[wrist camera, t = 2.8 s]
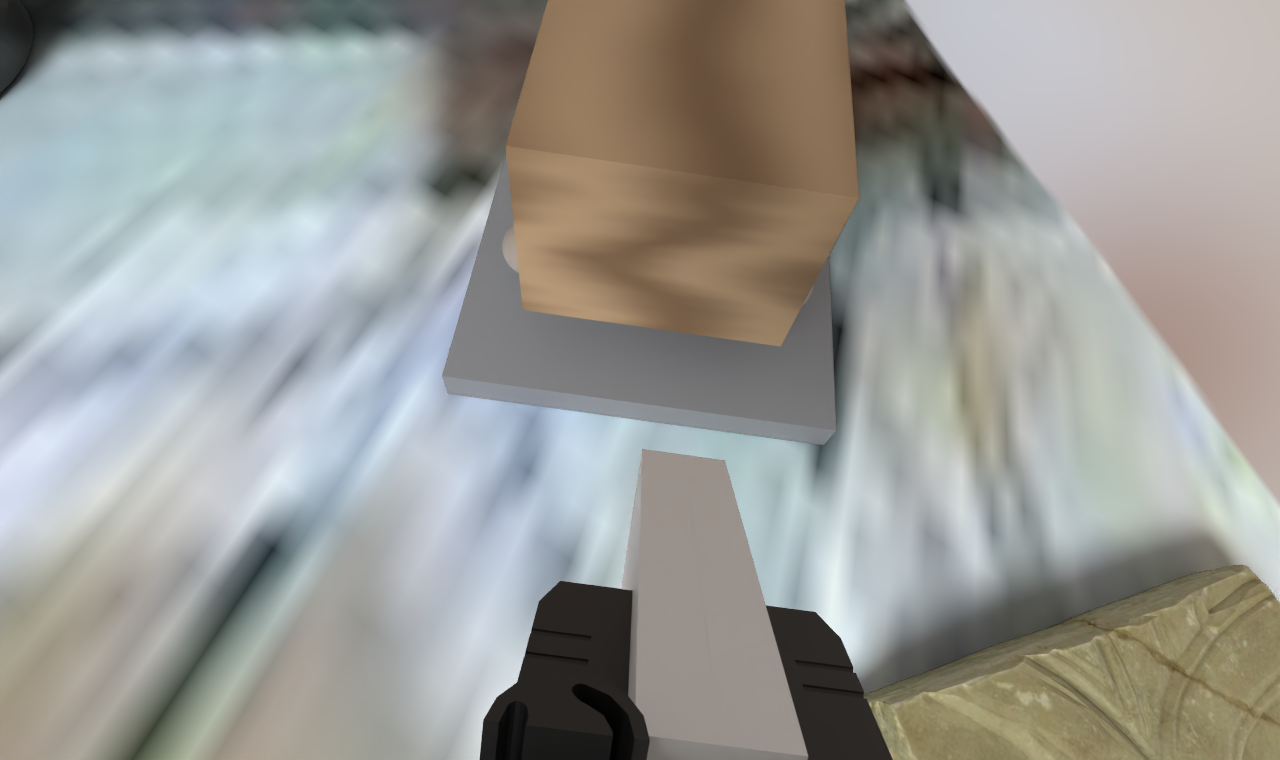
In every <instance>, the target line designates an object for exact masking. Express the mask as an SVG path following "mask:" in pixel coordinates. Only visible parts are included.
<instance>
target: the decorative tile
mask: <svg viewBox="0 0 1280 760" xmlns="http://www.w3.org/2000/svg"><path fill="white" fill-rule="evenodd" d="M864 698H866V699H867V701H868V703H869V705H870V708H871V710H872V712H873V715H874V717H875V719H876V722H877V724H878V726H879V728H880V731H881V733H882V735H883V738H884V740H885V742H886V745H887V747H888V749H889V752H890V754H891V756H892V759H893V760H1280V603H1279V601H1278V600H1277V599H1276V598H1275V596H1274V595H1273V593H1272V592H1271V590H1270V589H1269V588H1268V586H1267V585H1266V584H1264V583H1263V582H1261V580H1260V579H1259V578H1258V577H1257V576H1256V574H1255V573H1253V572H1252V571H1251V570H1250V569H1249V568H1248V567H1247V566H1244V565H1234V566H1229V567H1225V568H1220V569H1215V570H1209V571H1204V572H1199V573H1194V574H1191V575H1188V576H1185V577H1181V578H1178V579H1176V580H1173V581H1171V582H1168V583H1165V584H1162V585H1159V586H1156V587H1154V588H1151V589H1149V590H1147V591H1145V592H1143V593H1140V594H1137V595H1134V596H1131V597H1128V598H1125V599H1122V600H1119V601H1115V602H1112V603H1110V604H1107V605H1104V606H1102V607H1099V608H1096V609H1093V610H1091V611H1088V612H1086V613H1083V614H1081V615H1078V616H1076V617H1073V618H1071V619H1068V620H1066V621H1063V622H1062V623H1061V624H1057V625H1054V626H1052V627H1049V628H1046V629H1044V630H1041V631H1038V632H1035V633H1032V634H1029V635H1026V636H1023V637H1020V638H1017V639H1013V640H1010V641H1007V642H1003V643H1000V644H998V645H995V646H992V647H989V648H986V649H983V650H981V651H978V652H976V653H973V654H971V655H969V656H966V657H964V658H962V659H959V660H956V661H954V662H951V663H948V664H946V665H943V666H941V667H939V668H936V669H933V670H931V671H928V672H926V673H923V674H920V675H916V676H912V677H910V678H907V679H905V680H903V681H900V682H897V683H895V684H892V685H889V686H887V687H884V688H881V689H878V690H876V691H874V692H871V693H869V694H866V695H864Z"/></svg>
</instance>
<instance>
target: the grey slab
mask: <svg viewBox="0 0 1280 760" xmlns="http://www.w3.org/2000/svg"><path fill="white" fill-rule="evenodd" d="M513 224H514V221H513V212H512V202H511V193H510V184H509V174H508V165H507V155H506V157H505V160H504V164H503V167H502V171H501V174H500V177H499V181H498V184H497V188H496V191H495V195H494V198H493V202H492V205H491V209H490V212H489V216H488V219H487V222H486V226H485V229H484V233H483V236H482V240H481V243H480V247H479V250H478V254H477V257H476V261H475V264H474V267H473V271H472V274H471V278H470V281H469V285H468V288H467V292H466V295H465V299H464V302H463V306H462V309H461V313H460V316H459V319H458V323H457V326H456V330H455V333H454V337H453V340H452V344H451V347H450V351H449V354H448V358H447V361H446V364H445V368H444V371H443V375H442V377H443V380H444V383H445V386H446V389H447V392H448V394H455V395H462V396H470V397H477V398H484V399H491V400H499V401H506V402H513V403H521V404H528V405H535V406H542V407H550V408H557V409H564V410H572V411H579V412H586V413H594V414H601V415H608V416H615V417H623V418H630V419H637V420H645V421H652V422H659V423H666V424H674V425H681V426H688V427H696V428H703V429H710V430H718V431H725V432H732V433H739V434H747V435H754V436H761V437H769V438H776V439H783V440H790V441H798V442H805V443H812V444H820V445H824V444H825V443H826V442H827V441H828V440H829V438H830V437H831V436H832V435H833V434H834V433H835V431H836V414H835V389H834V365H833V340H832V316H831V291H830V267H829V256H828V258H827V260H826V262H825V264H824V266H823V268H822V269H821V271H820V273H819V275H818V277H817V279H816V281H815V283H814V285H813V290H812V293H811V296H810V298H809V299H808V301H807V302H806V303H805V304H804V305H803V306H802V307H801V309H800V311H799V313H798V315H797V317H796V318H795V320H794V322H793V324H792V326H791V328H790V330H789V332H788V334H787V335H786V337H785V339H784V341H783V343H782V345H781V346H773V345H766V344H759V343H752V342H745V341H738V340H731V339H724V338H717V337H710V336H703V335H696V334H689V333H681V332H674V331H667V330H660V329H653V328H646V327H639V326H632V325H625V324H618V323H611V322H604V321H597V320H590V319H582V318H575V317H568V316H561V315H554V314H547V313H540V312H533V311H526V310H523V307H522V297H521V288H520V278H519V273H517V272H516V271H514V270H513V269H512V268H511V267H510V266H509V265H508V264H507V262H506V260H505V258H504V255H503V251H502V242H503V238H504V235H505V233H506V232H507V230H508V229H509V228H510V227H511V226H512V225H513Z"/></svg>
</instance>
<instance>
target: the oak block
mask: <svg viewBox="0 0 1280 760" xmlns="http://www.w3.org/2000/svg"><path fill="white" fill-rule="evenodd" d="M506 155H507V165H508V174H509V184H510V193H511V202H512V212H513V221H514V224H513V225H512V226H511V227H510V228H509V229H508V230H507V232H506V233H505V235H504V238H503V242H502V251H503V255H504V258H505V260H506V262H507V264H508V265H509V266H510V267H511V268H512V269H513V270H514V271H516V272H517V273H519V278H520V288H521V297H522V307H523V310H526V311H533V312H540V313H547V314H554V315H561V316H568V317H575V318H582V319H590V320H597V321H604V322H611V323H618V324H625V325H632V326H639V327H646V328H653V329H660V330H667V331H674V332H681V333H689V334H696V335H703V336H710V337H717V338H724V339H731V340H738V341H745V342H752V343H759V344H766V345H773V346H781V345H782V343H783V341H784V339H785V337H786V335H787V334H788V332H789V330H790V328H791V326H792V324H793V322H794V320H795V318H796V317H797V315H798V313H799V311H800V309H801V307H802V306H803V305H804V304H805V303H806V302H807V301H808V299H809V298H810V296H811V293H812V290H813V285H814V283H815V281H816V279H817V277H818V275H819V273H820V271H821V269H822V268H823V266H824V264H825V262H826V260H827V258H828V256H829V254H830V252H831V251H832V249H833V247H834V245H835V243H836V241H837V239H838V237H839V235H840V234H841V232H842V230H843V228H844V226H845V224H846V222H847V220H848V218H849V217H850V215H851V213H852V211H853V209H854V207H855V205H856V203H857V202H858V200H859V188H858V175H857V161H856V147H855V133H854V120H853V106H852V92H851V79H850V65H849V51H848V37H847V24H846V10H845V0H548V2H547V5H546V9H545V12H544V16H543V19H542V22H541V26H540V29H539V33H538V36H537V40H536V43H535V46H534V50H533V53H532V57H531V60H530V64H529V67H528V70H527V74H526V77H525V81H524V84H523V87H522V91H521V94H520V98H519V101H518V105H517V108H516V111H515V115H514V118H513V122H512V125H511V129H510V132H509V135H508V139H507V142H506Z"/></svg>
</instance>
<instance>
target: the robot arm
mask: <svg viewBox="0 0 1280 760" xmlns="http://www.w3.org/2000/svg"><path fill="white" fill-rule="evenodd" d="M32 42H33V25H32V21H31V18H30V16H29V14H28V12H27V10H26V9H25V7H24V6H23V4H22V3H21V2H20V0H0V92H1V91H3V90H4V89H5V88H6V87H7V86H8V85H9V84H10V82H11V81H12V80H13V79H14V78H15V77H16V75H17V74H18V73H19V71H20V70H21V68H22V67H23V65H24V64H25V62H26V60H27V58H28V55H29V53H30V50H31V47H32ZM480 760H893V759H892V756H891V754H890V752H889V749H888V747H887V745H886V742H885V740H884V738H883V735H882V733H881V731H880V728H879V726H878V724H877V722H876V719H875V717H874V715H873V712H872V710H871V708H870V705H869V703H868V701H867V699H866V698H864V691H863V689H862V687H861V684H860V682H859V680H858V677H857V675H856V673H853V666H852V663H851V661H850V659H849V656H848V654H847V652H846V649H845V647H844V645H843V643H842V640H841V638H840V637H839V636H838V635H837V634H836V633H835V632H834V631H833V630H832V629H831V628H830V627H829V626H828V625H827V624H826V623H825V622H824V621H823V619H822V618H821V617H820V616H819V615H818V614H817V613H816V612H810V611H803V610H795V609H788V608H780V607H773V606H766V605H765V601H764V598H763V594H762V591H761V587H760V583H759V580H758V576H757V573H756V569H755V566H754V562H753V559H752V555H751V552H750V548H749V545H748V541H747V537H746V534H745V530H744V527H743V523H742V520H741V516H740V513H739V509H738V506H737V502H736V499H735V495H734V491H733V488H732V484H731V481H730V477H729V474H728V470H727V467H726V463H725V461H724V460H717V459H710V458H703V457H696V456H688V455H681V454H674V453H667V452H659V451H652V450H645V449H642V455H641V461H640V468H639V474H638V481H637V488H636V494H635V501H634V507H633V514H632V520H631V527H630V533H629V540H628V546H627V553H626V559H625V566H624V572H623V579H622V589H617V588H609V587H602V586H594V585H587V584H579V583H572V582H564V581H560V582H559V583H558V584H557V585H556V586H555V587H554V588H553V589H552V590H550V591H549V592H548V593H547V594H546V595H545V596H544V597H543V598H542V599H541V600H540V601H539V604H538V608H537V611H536V615H535V619H534V622H533V626H532V631H531V634H530V637H529V641H528V645H527V648H526V653H525V657H524V659H523V663H522V667H521V671H520V674H519V678H518V682H517V683H516V684H514V685H513V686H512V687H510V688H509V689H508V690H506V691H505V692H503V693H502V694H501V695H499V696H498V697H497V698H496V700H495V701H494V703H493V705H492V706H491V708H490V710H489V711H488V713H487V715H486V717H485V718H484V721H483V731H482V742H481V752H480Z"/></svg>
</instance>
